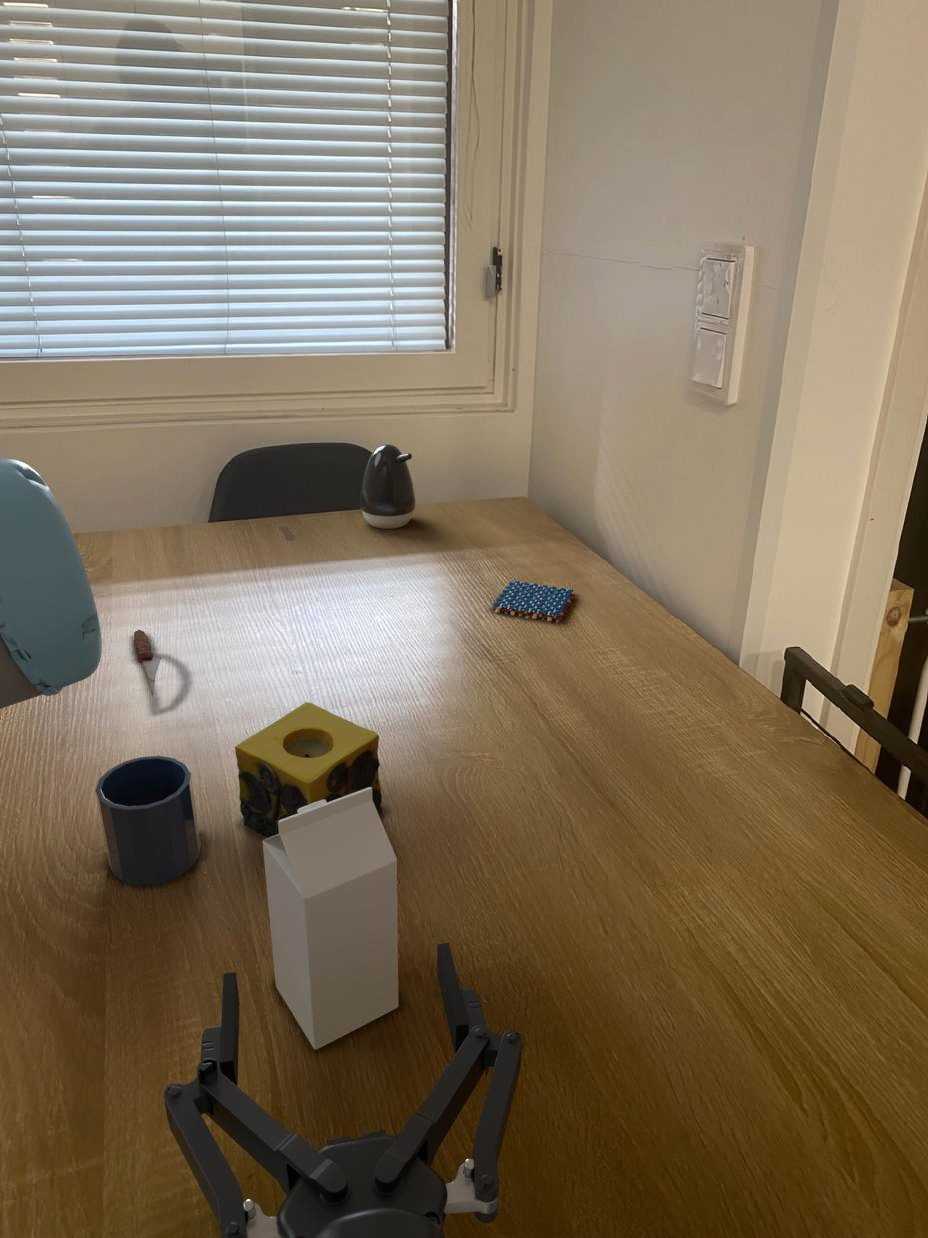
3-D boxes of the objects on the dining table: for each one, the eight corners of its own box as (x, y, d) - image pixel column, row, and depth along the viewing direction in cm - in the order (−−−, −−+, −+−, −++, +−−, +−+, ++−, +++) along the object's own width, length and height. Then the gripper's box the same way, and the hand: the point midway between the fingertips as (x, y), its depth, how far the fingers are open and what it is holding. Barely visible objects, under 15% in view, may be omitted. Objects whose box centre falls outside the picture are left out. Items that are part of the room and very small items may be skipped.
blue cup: (93, 881, 82) (76, 800, 78) (141, 826, 89) (128, 750, 85) (173, 897, 81) (160, 816, 77) (215, 840, 88) (206, 763, 84)
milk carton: (399, 1012, 70) (397, 813, 62) (315, 1056, 66) (301, 851, 58) (355, 953, 75) (348, 762, 67) (275, 990, 72) (257, 794, 63)
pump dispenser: (394, 539, 162) (393, 455, 155) (349, 527, 167) (346, 445, 160) (427, 523, 169) (427, 443, 163) (383, 512, 174) (381, 434, 168)
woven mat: (561, 628, 131) (562, 615, 130) (490, 616, 134) (491, 603, 133) (576, 599, 140) (577, 587, 139) (510, 589, 143) (511, 577, 142)
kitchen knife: (195, 705, 109) (151, 708, 107) (195, 716, 109) (151, 720, 107) (169, 626, 126) (131, 628, 123) (169, 636, 126) (131, 638, 124)
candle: (312, 779, 97) (307, 699, 92) (385, 815, 92) (383, 732, 87) (239, 829, 89) (230, 743, 85) (314, 871, 84) (308, 783, 80)
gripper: (92, 1454, 39) (145, 1043, 58) (634, 1331, 44) (522, 987, 63) (62, 1360, 36) (129, 956, 55) (651, 1238, 41) (528, 904, 60)
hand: (339, 972), depth 59 cm, fingers open, 13 cm apart
